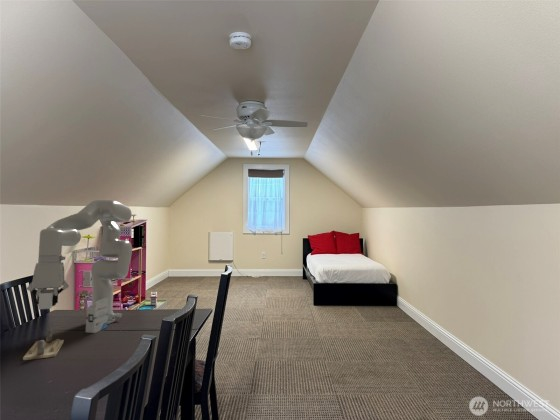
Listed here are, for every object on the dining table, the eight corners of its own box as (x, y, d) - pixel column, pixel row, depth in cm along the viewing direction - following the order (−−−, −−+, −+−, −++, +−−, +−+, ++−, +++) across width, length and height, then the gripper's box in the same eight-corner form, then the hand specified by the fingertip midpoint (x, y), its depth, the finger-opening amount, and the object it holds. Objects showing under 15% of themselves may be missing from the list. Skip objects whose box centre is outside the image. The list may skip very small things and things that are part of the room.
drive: (55, 303, 135) (56, 288, 135) (50, 308, 127) (51, 292, 128) (43, 304, 133) (44, 289, 133) (38, 309, 126) (39, 293, 126)
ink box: (98, 326, 160) (100, 296, 161) (107, 327, 159) (108, 297, 160) (84, 332, 152) (86, 300, 152) (94, 333, 151) (95, 301, 151)
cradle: (63, 342, 139) (64, 327, 139) (55, 356, 124) (56, 340, 125) (35, 345, 135) (36, 330, 135) (22, 360, 120) (23, 343, 121)
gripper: (75, 258, 138) (73, 302, 137) (27, 259, 131) (24, 305, 130) (72, 260, 131) (69, 306, 130) (21, 261, 124) (18, 309, 124)
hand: (47, 305), depth 130 cm, fingers closed on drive, 4 cm apart
